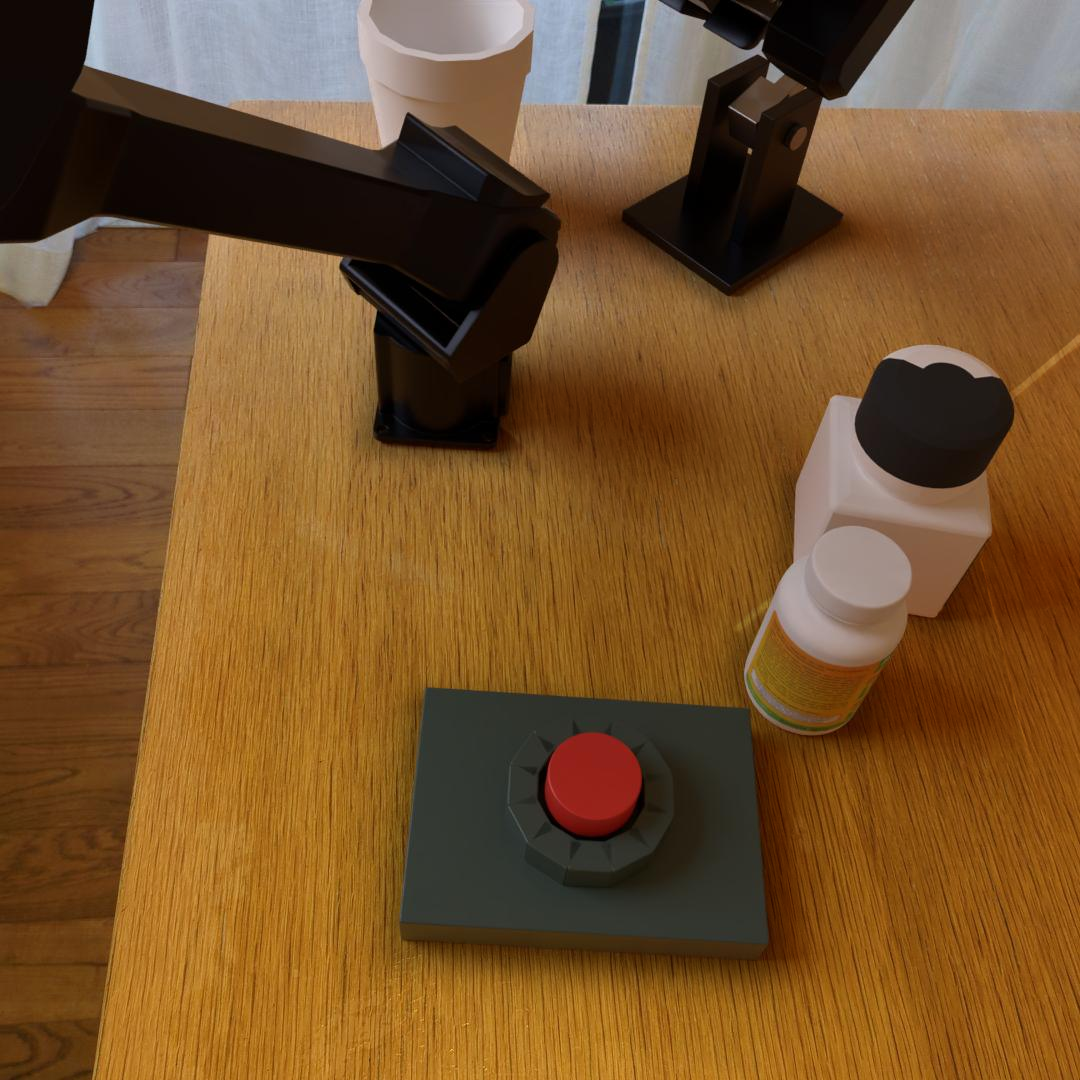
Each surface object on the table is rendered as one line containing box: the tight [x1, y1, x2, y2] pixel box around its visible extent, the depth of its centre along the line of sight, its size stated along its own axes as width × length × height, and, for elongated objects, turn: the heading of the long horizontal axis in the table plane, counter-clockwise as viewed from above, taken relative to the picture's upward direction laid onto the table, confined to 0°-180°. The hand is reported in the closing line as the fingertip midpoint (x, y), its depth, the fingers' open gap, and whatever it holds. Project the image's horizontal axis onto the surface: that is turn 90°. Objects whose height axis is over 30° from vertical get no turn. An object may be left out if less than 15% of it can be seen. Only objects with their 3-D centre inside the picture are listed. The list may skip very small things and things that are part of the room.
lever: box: [728, 73, 806, 150], centre depth 65 cm, size 12×3×3 cm, turn 133°
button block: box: [398, 686, 770, 961], centre depth 45 cm, size 14×10×4 cm
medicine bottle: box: [793, 344, 1015, 618], centre depth 51 cm, size 7×7×12 cm
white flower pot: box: [356, 0, 536, 164], centre depth 64 cm, size 10×9×13 cm
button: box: [545, 733, 642, 837], centre depth 43 cm, size 4×4×2 cm
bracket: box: [621, 53, 844, 297], centre depth 67 cm, size 11×9×10 cm
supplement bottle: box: [743, 526, 913, 736], centre depth 47 cm, size 5×5×10 cm
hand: (770, 27), depth 60 cm, fingers closed
